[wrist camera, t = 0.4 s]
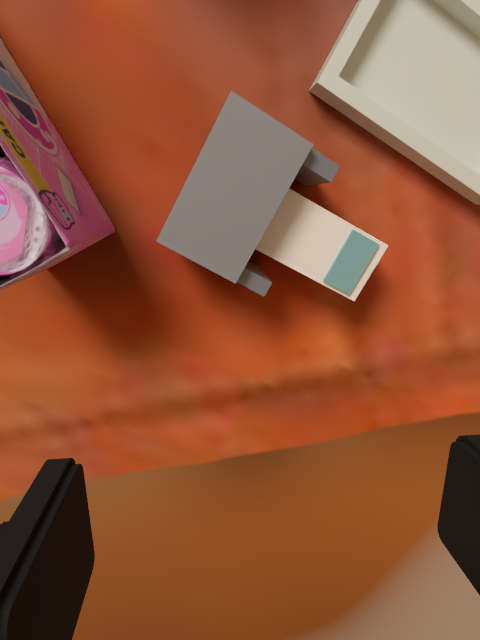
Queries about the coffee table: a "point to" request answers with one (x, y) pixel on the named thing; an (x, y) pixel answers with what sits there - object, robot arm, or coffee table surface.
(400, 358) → the coffee table surface
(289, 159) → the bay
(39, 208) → the gum box
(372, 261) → the teal-tabbed cream block
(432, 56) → the tray
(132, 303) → the coffee table surface
